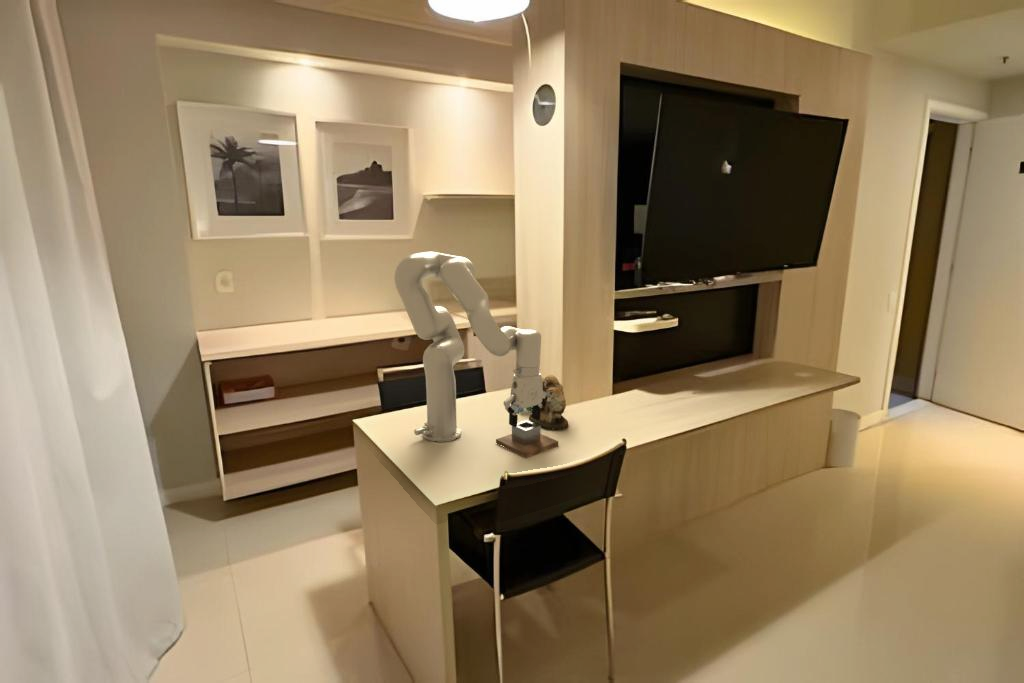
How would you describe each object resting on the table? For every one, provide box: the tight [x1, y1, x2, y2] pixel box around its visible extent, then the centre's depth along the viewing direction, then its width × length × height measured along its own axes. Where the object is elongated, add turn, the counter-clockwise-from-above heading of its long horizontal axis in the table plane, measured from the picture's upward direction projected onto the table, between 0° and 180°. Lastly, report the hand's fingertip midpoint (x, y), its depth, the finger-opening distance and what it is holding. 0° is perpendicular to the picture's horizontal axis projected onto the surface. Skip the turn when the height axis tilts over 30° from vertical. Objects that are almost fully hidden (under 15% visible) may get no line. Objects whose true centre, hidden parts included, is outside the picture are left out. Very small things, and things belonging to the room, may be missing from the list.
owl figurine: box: [528, 374, 569, 431], centre depth 194 cm, size 18×12×17 cm, turn 34°
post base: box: [495, 427, 559, 459], centre depth 175 cm, size 14×14×6 cm
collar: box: [511, 419, 542, 446], centre depth 175 cm, size 6×6×5 cm
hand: (524, 422), depth 174 cm, fingers open, 9 cm apart
